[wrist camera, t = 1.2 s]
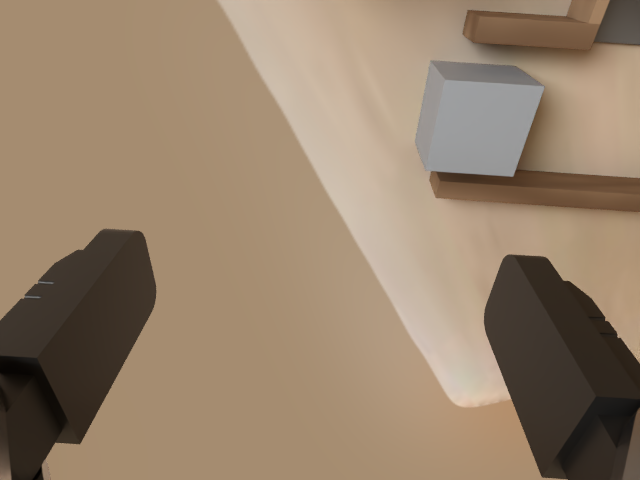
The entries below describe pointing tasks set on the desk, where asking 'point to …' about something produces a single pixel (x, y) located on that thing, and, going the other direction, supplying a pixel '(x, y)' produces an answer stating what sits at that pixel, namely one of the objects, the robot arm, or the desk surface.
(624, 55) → the desk surface
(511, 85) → the slate block
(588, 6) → the box
